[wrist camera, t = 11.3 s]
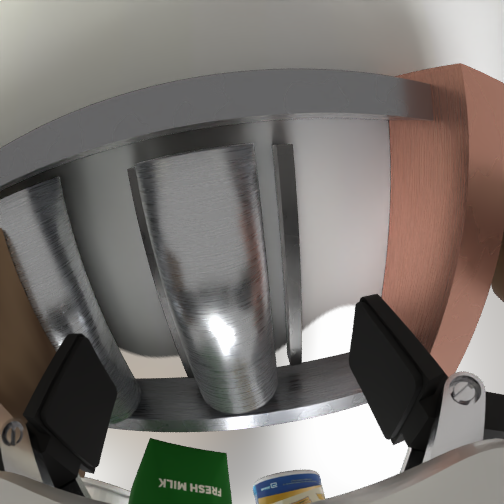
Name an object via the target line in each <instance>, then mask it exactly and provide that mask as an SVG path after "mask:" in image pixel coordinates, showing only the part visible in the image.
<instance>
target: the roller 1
mask: <svg viewBox="0 0 504 504" xmlns="http://www.w3.org/2000/svg"><path fill="white" fill-rule="evenodd" d="M0 228H2V230H3V234H4V237H5V240H6V243H7V247H8V250H9V252H10V255H11V258H12V261H13V264H14V266H15V269H16V272H17V274H18V277H19V279H20V282H21V284H22V286H23V289H24V291H25V293H26V295H27V298H28V300H29V302H30V304H31V306H32V308H33V310H34V312H35V314H36V316H37V318H38V320H39V322H40V324H41V326H42V328H43V330H44V332H45V333H46V335H47V337H48V339H49V340H50V342H51V344H52V346H53V347H54V349H55V351H56V352H57V350H58V349H59V347H60V345H61V344H62V342H63V341H64V339H65V337H66V336H67V335H68V334H73V333H81V334H83V335H85V337H87V338H88V339H89V340H90V342H91V344H92V346H93V348H94V350H95V352H96V354H97V355H98V357H99V359H100V361H101V363H102V364H103V366H104V368H105V370H106V371H107V373H108V375H109V376H110V378H111V380H112V381H113V383H114V385H115V386H116V388H117V398H116V401H115V404H114V408H113V411H112V415H111V418H110V422H109V425H111V424H116V423H119V422H121V421H123V420H125V419H127V418H128V417H129V416H130V415H131V414H133V412H134V411H135V410H136V409H137V407H138V405H139V403H140V400H141V389H140V387H139V385H138V383H137V381H136V379H135V378H134V376H133V374H132V372H131V371H130V369H129V367H128V365H127V363H126V361H125V360H124V358H123V356H122V354H121V352H120V350H119V348H118V346H117V344H116V342H115V340H114V338H113V336H112V334H111V332H110V329H109V327H108V325H107V323H106V321H105V319H104V316H103V314H102V312H101V309H100V307H99V305H98V302H97V300H96V297H95V295H94V292H93V290H92V287H91V285H90V282H89V279H88V277H87V274H86V271H85V268H84V266H83V263H82V260H81V257H80V254H79V251H78V247H77V244H76V241H75V238H74V234H73V231H72V227H71V224H70V220H69V216H68V212H67V208H66V204H65V200H64V196H63V191H62V187H61V182H60V177H56V178H53V179H50V180H47V181H45V182H42V183H39V184H36V185H34V186H31V187H29V188H26V189H24V190H21V191H19V192H16V193H14V194H12V195H9V196H7V197H5V198H3V199H0Z"/></svg>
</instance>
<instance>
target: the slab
mask: <svg viewBox="0 0 504 504" xmlns="http://www.w3.org/2000/svg"><path fill="white" fill-rule="evenodd" d="M55 354H56V351H55V349H54V347H53V346H52V344H51V342H50V340H49V339H48V337H47V335H46V333H45V332H44V330H43V328H42V326H41V324H40V322H39V320H38V318H37V316H36V314H35V312H34V310H33V308H32V306H31V304H30V302H29V300H28V298H27V295H26V293H25V291H24V289H23V286H22V284H21V282H20V279H19V277H18V274H17V272H16V269H15V266H14V264H13V261H12V258H11V255H10V252H9V250H8V247H7V243H6V240H5V237H4V234H3V230H2V228H0V429H1V428H2V426H3V424H4V423H5V422H6V421H8V420H9V419H12V418H20V419H22V420H23V421H24V422H25V423H27V421H28V420H27V419H26V418H25V417H24V416H23V413H24V411H25V409H26V407H27V405H28V403H29V401H30V399H31V397H32V395H33V393H34V391H35V389H36V387H37V385H38V383H39V382H40V380H41V378H42V376H43V374H44V373H45V371H46V369H47V367H48V366H49V364H50V362H51V360H52V359H53V357H54V355H55ZM79 475H80V477H81V478H84V476H85V471H82V470H81V469H79Z"/></svg>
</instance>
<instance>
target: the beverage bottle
mask: <svg viewBox="0 0 504 504" xmlns="http://www.w3.org/2000/svg"><path fill="white" fill-rule="evenodd" d="M253 491H254V496H255V500H256V504H307V503H311V502H315V501H320V500H324V499H325V496H324V492H323V488H322V485H321V479H320V476H319V474H318V473H317V472H315V471H312V470H293V471H287V472H281V473H276V474H272V475H269V476H266V477H263V478H261V479H259V480H257V481H256V482H255V483H254V485H253Z"/></svg>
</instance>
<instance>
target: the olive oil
mask: <svg viewBox="0 0 504 504" xmlns="http://www.w3.org/2000/svg"><path fill="white" fill-rule="evenodd" d="M491 285H492V289H493V291H494V293H495V294H496V295H497V296H498V297H499V298H500V299H501V300H502V301H503V302H504V232H503V237H502V242H501V247H500V252H499V256H498V260H497V264H496V268H495V272H494V276H493V279H492V283H491Z"/></svg>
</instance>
